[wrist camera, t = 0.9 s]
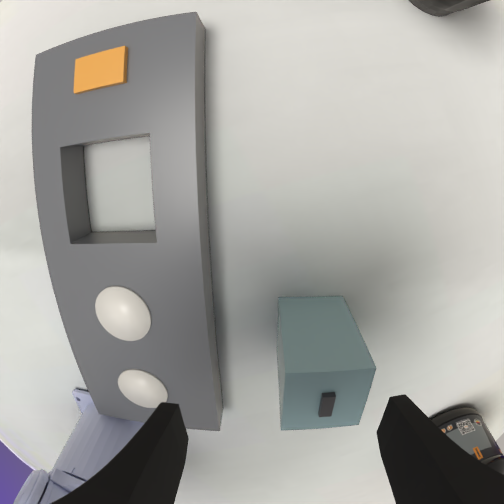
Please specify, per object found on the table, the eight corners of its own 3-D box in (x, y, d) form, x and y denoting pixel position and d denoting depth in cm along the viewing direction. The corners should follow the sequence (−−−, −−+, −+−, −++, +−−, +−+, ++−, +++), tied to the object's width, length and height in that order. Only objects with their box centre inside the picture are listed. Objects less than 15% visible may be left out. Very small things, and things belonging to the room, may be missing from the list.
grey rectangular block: (335, 347, 20) (359, 428, 13) (276, 349, 20) (281, 434, 13) (342, 296, 19) (378, 372, 12) (278, 297, 19) (285, 377, 12)
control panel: (223, 407, 22) (219, 435, 19) (109, 394, 22) (97, 417, 20) (205, 28, 14) (194, 8, 11) (58, 61, 14) (32, 53, 11)
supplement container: (444, 457, 26) (472, 528, 14) (376, 467, 25) (397, 554, 14) (492, 398, 22) (539, 473, 11) (425, 404, 22) (472, 507, 11)
